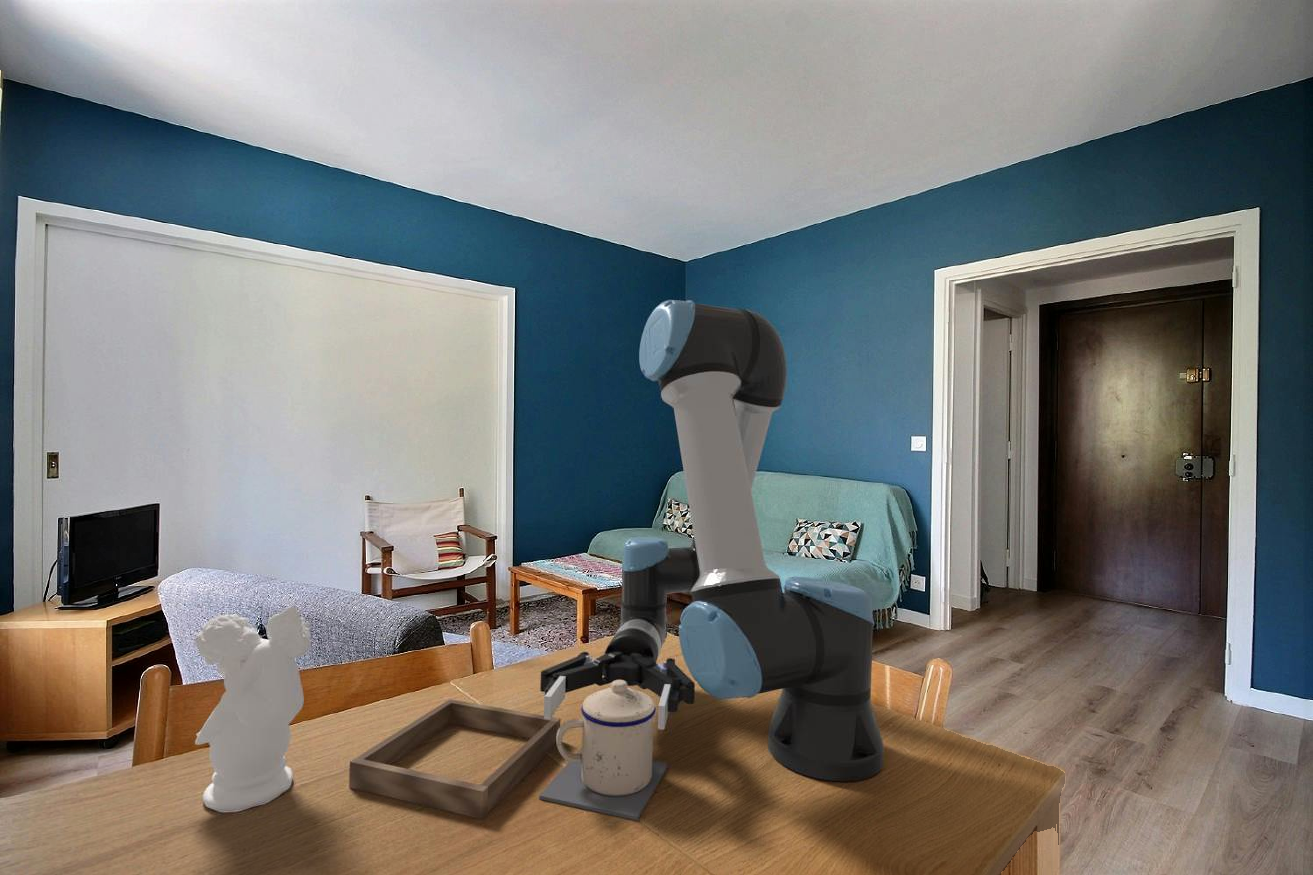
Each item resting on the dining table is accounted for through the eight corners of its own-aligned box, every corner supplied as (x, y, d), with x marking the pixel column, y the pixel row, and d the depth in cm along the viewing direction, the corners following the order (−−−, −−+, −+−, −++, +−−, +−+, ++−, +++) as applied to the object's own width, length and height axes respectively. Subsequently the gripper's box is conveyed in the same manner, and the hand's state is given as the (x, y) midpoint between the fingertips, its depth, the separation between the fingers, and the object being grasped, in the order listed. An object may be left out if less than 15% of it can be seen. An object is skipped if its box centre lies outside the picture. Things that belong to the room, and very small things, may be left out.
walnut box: (559, 740, 85) (560, 718, 85) (482, 818, 67) (482, 791, 67) (448, 719, 91) (449, 699, 91) (349, 787, 73) (349, 761, 73)
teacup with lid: (645, 755, 81) (648, 666, 81) (660, 794, 72) (663, 694, 72) (553, 763, 78) (556, 671, 79) (557, 804, 70) (560, 701, 70)
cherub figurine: (174, 805, 68) (178, 606, 69) (267, 751, 80) (270, 582, 81) (266, 821, 66) (270, 614, 66) (348, 763, 78) (351, 588, 78)
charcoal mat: (667, 766, 79) (667, 763, 79) (637, 820, 68) (637, 816, 68) (581, 750, 83) (582, 747, 83) (539, 798, 71) (539, 795, 71)
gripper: (715, 683, 92) (709, 754, 70) (552, 671, 95) (500, 735, 74) (716, 632, 92) (711, 688, 71) (553, 622, 95) (502, 672, 74)
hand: (603, 712), depth 72 cm, fingers open, 13 cm apart
